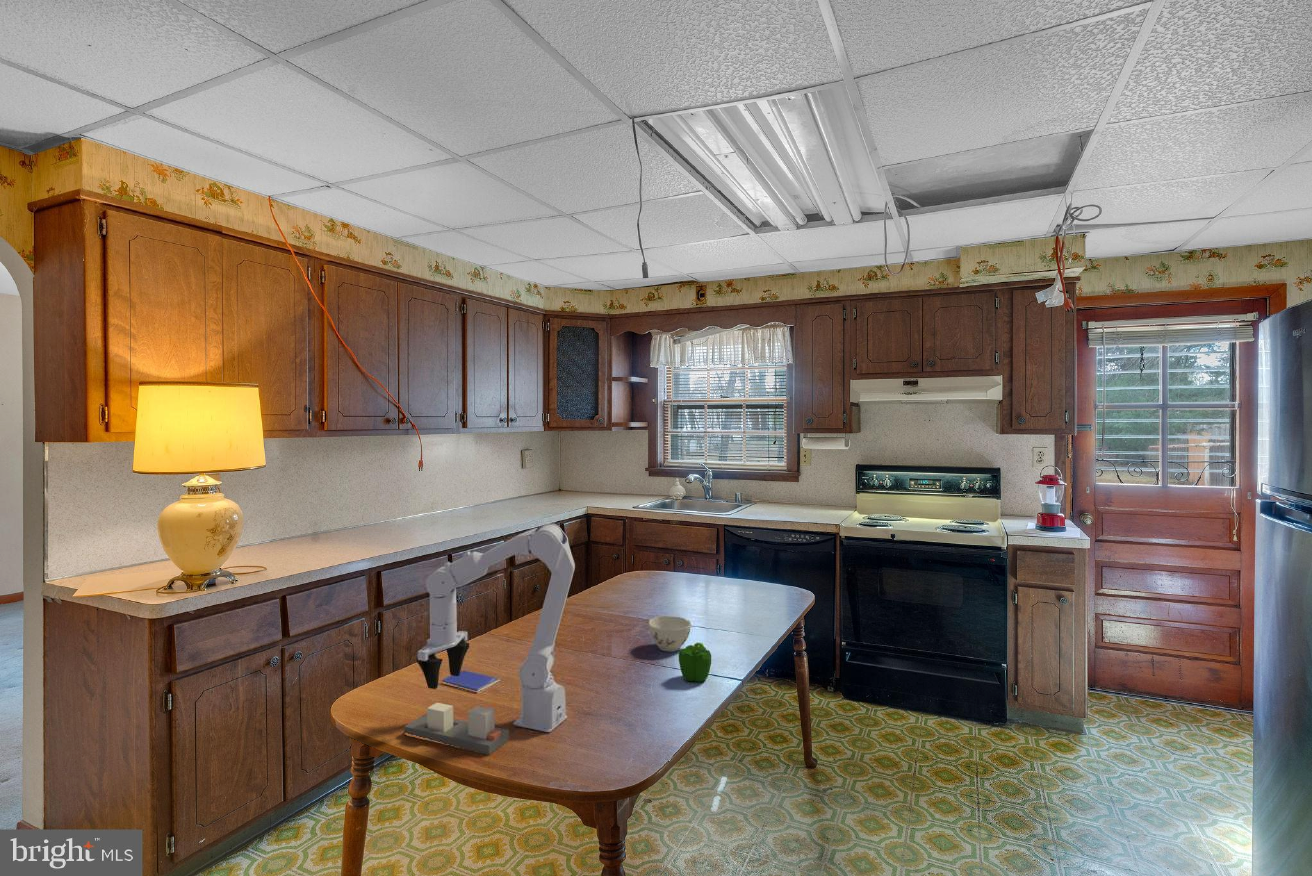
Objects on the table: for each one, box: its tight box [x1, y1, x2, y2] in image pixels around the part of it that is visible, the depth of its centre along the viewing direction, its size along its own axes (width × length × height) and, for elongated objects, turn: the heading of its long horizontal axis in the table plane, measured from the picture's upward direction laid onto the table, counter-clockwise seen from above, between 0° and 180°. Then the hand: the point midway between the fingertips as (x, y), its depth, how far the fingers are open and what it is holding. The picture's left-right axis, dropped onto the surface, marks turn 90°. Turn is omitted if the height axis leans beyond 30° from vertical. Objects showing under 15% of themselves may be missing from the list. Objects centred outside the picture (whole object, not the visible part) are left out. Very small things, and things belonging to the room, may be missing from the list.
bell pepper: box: [678, 641, 712, 683], centre depth 172 cm, size 8×8×10 cm
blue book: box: [441, 669, 501, 693], centre depth 170 cm, size 2×8×12 cm
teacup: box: [648, 615, 692, 653], centre depth 196 cm, size 15×12×8 cm
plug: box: [426, 702, 454, 732], centre depth 142 cm, size 4×3×6 cm
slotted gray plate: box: [403, 705, 510, 756], centre depth 141 cm, size 22×7×7 cm, turn 68°
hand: (444, 681), depth 148 cm, fingers open, 7 cm apart
